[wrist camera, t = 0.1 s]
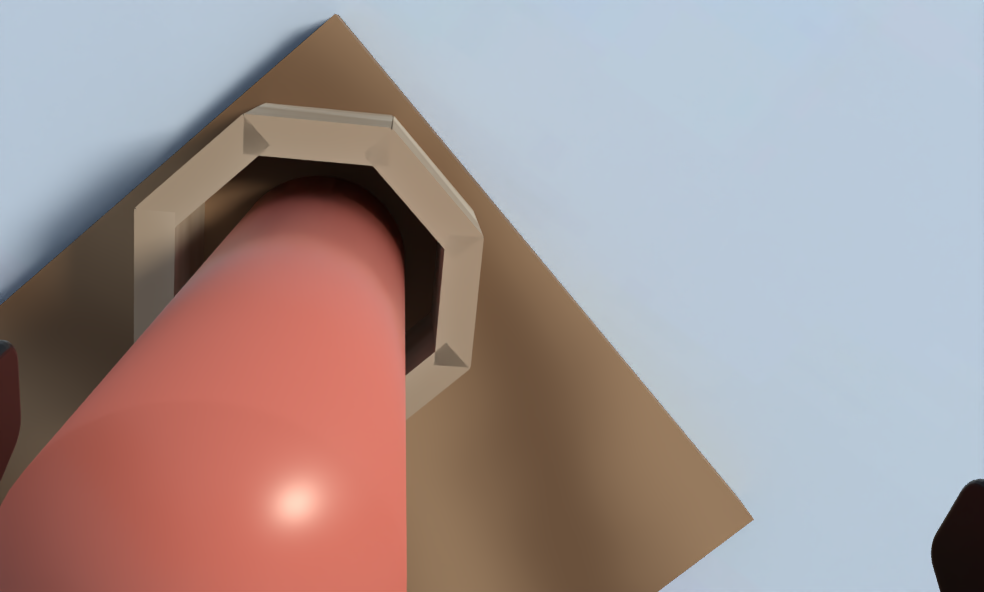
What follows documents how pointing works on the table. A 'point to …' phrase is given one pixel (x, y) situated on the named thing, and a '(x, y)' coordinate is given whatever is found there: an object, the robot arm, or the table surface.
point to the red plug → (240, 424)
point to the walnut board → (428, 342)
